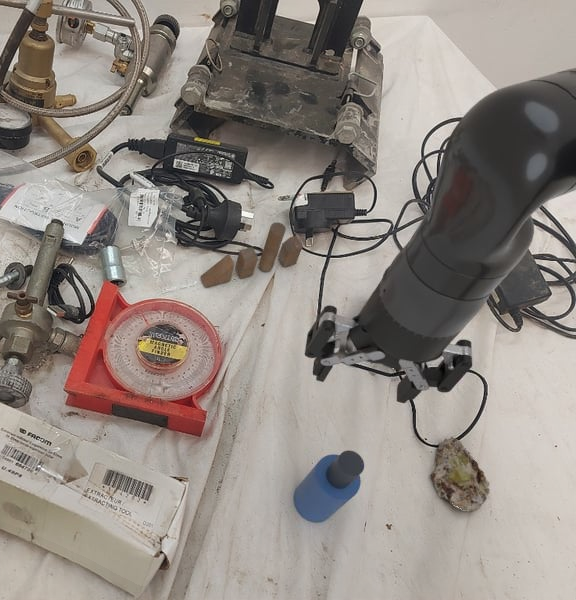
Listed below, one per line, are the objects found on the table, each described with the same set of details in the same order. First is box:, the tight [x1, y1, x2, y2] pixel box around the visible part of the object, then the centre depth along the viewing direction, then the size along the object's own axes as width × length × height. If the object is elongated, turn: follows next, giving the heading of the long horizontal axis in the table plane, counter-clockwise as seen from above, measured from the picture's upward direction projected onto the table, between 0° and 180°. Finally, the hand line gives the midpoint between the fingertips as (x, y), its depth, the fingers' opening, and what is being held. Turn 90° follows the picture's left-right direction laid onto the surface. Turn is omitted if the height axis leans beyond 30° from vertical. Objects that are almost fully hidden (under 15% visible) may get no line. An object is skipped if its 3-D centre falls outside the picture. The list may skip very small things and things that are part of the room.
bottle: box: [293, 449, 365, 523], centre depth 73 cm, size 6×6×16 cm
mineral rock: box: [430, 436, 491, 513], centre depth 82 cm, size 11×4×8 cm
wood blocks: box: [161, 221, 304, 294], centre depth 96 cm, size 25×3×10 cm, turn 111°
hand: (360, 384), depth 61 cm, fingers open, 8 cm apart
